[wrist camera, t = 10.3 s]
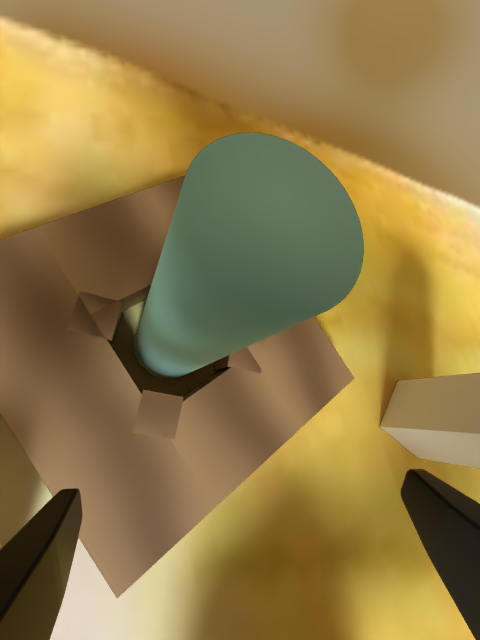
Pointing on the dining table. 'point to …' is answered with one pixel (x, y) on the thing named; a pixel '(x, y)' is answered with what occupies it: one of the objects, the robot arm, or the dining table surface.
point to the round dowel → (247, 253)
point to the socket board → (123, 395)
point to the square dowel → (437, 418)
